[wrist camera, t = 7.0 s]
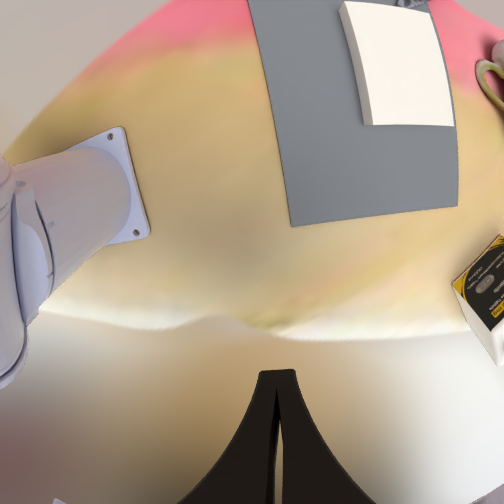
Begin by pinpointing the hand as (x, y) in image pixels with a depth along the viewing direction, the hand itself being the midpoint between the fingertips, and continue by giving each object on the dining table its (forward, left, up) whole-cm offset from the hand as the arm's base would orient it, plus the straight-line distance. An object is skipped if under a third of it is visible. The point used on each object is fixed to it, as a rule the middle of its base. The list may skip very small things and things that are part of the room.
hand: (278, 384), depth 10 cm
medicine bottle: (+20, -5, -10) cm, 23 cm away
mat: (+8, +11, -10) cm, 17 cm away
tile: (+7, +13, -9) cm, 17 cm away
